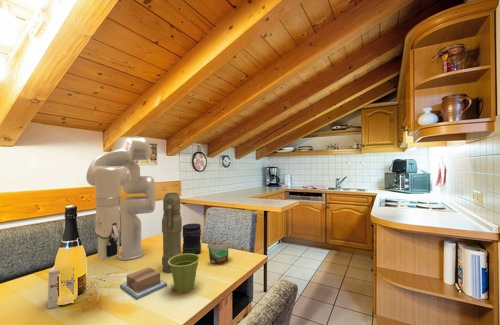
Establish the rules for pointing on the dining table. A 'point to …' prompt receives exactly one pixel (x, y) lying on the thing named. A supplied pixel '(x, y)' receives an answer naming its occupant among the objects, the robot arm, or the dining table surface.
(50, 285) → the supplement box
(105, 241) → the sage pillar block
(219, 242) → the food container
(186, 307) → the dining table surface
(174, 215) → the thermos
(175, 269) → the plant pot
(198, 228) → the storage jar
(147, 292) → the blueprint mat
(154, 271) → the walnut plinth
